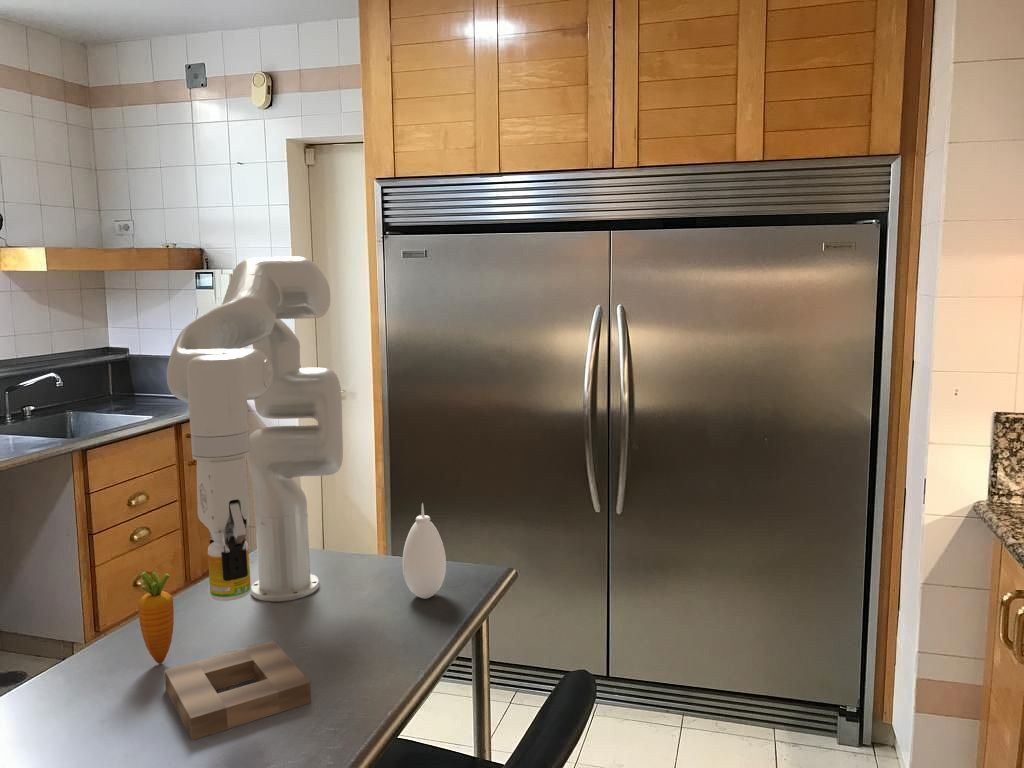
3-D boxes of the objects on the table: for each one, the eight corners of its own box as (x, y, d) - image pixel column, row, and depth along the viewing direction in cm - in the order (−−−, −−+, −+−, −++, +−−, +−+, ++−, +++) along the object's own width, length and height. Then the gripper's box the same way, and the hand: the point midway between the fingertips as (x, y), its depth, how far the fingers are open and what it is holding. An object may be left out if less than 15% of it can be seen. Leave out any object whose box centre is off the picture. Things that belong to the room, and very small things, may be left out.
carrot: (184, 658, 128) (177, 567, 126) (161, 673, 124) (154, 578, 122) (159, 654, 130) (152, 564, 128) (135, 668, 125) (127, 575, 123)
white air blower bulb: (454, 593, 153) (452, 500, 150) (428, 608, 146) (425, 511, 144) (422, 585, 157) (419, 494, 154) (395, 599, 150) (392, 504, 148)
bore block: (165, 689, 119) (164, 670, 118) (274, 659, 128) (273, 640, 127) (192, 740, 106) (190, 718, 105) (311, 702, 115) (310, 682, 114)
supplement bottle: (238, 603, 111) (233, 534, 110) (202, 600, 113) (197, 532, 111) (258, 588, 117) (254, 522, 115) (224, 585, 118) (219, 520, 116)
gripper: (177, 438, 117) (186, 560, 119) (208, 460, 103) (218, 597, 105) (231, 432, 121) (238, 549, 123) (267, 452, 107) (275, 584, 109)
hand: (229, 570), depth 114 cm, fingers closed on supplement bottle, 5 cm apart
